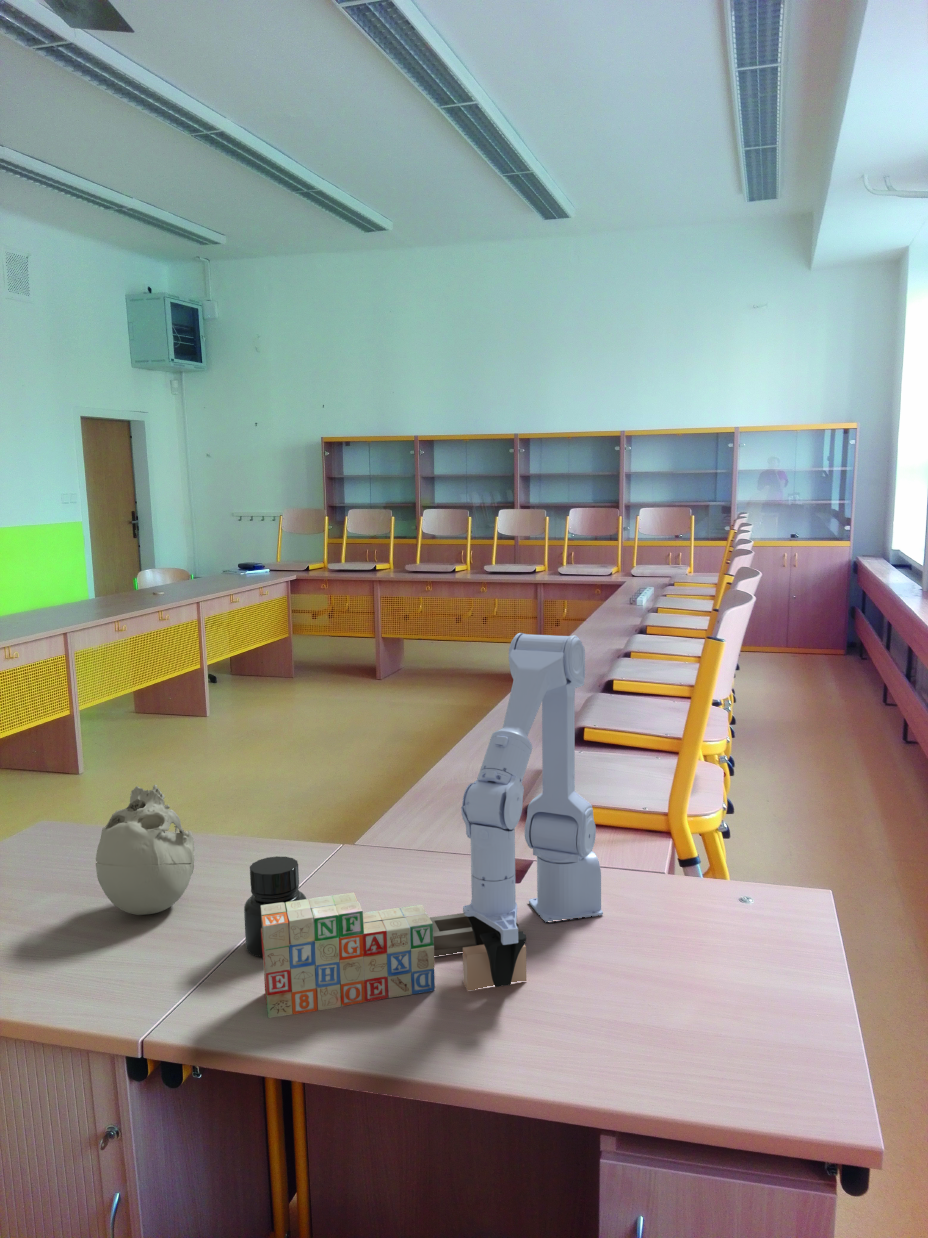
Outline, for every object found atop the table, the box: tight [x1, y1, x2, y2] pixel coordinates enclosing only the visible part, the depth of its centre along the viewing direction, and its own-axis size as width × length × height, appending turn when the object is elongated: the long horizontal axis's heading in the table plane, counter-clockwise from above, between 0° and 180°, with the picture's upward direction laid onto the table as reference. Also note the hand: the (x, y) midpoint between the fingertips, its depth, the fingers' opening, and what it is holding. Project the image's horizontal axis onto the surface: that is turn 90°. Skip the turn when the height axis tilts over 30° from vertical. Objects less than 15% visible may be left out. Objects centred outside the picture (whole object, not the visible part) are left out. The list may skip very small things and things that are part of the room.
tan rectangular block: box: [462, 944, 527, 992], centre depth 119 cm, size 8×2×5 cm, turn 105°
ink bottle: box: [243, 856, 307, 958], centre depth 130 cm, size 10×9×12 cm
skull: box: [95, 784, 195, 916], centre depth 141 cm, size 13×15×20 cm
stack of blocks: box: [261, 892, 436, 1019], centre depth 116 cm, size 21×6×12 cm, turn 106°
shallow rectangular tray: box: [429, 912, 519, 956], centre depth 130 cm, size 12×6×3 cm, turn 105°
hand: (494, 972), depth 119 cm, fingers open, 6 cm apart
